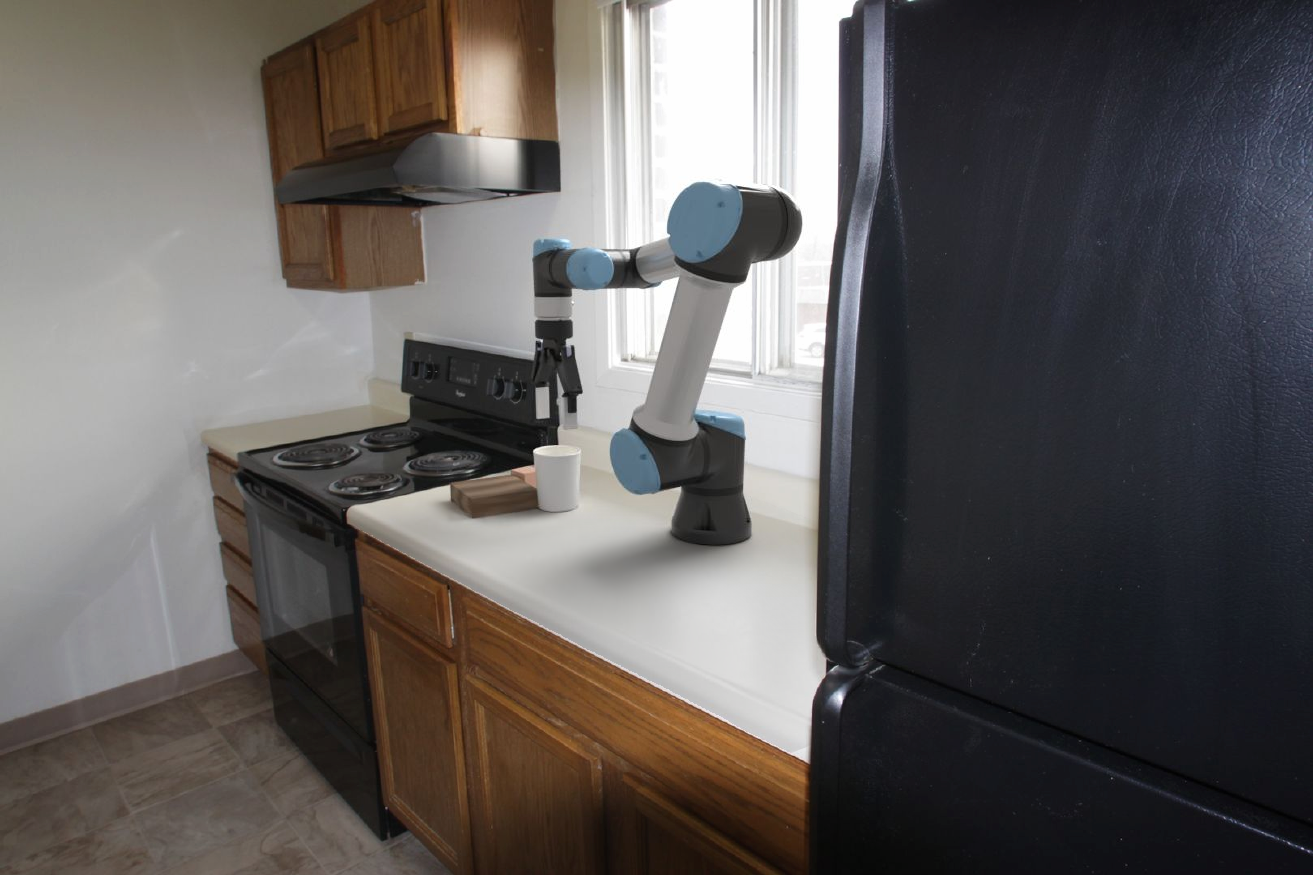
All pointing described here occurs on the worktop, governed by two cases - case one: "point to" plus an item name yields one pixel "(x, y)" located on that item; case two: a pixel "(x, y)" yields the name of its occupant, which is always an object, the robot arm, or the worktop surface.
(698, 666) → the worktop surface
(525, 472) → the terracotta cube
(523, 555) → the worktop surface
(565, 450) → the white cup
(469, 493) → the walnut slab
